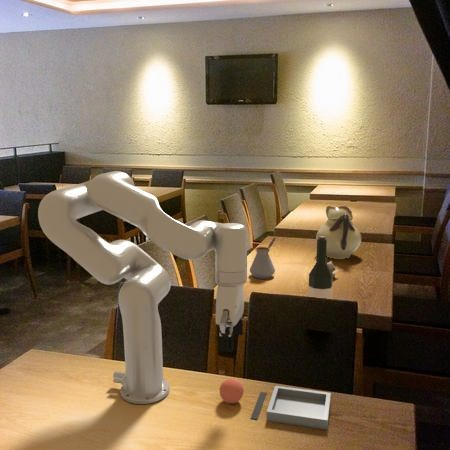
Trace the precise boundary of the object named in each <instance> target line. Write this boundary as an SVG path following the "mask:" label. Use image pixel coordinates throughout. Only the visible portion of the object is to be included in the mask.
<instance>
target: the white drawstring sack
mask: <svg viewBox="0 0 450 450" xmlns="http://www.w3.org/2000/svg"><path fill="white" fill-rule="evenodd" d="M352 212H353V211H352V210H351V208H350V207H349V206H346V205H340V206H330V205H328V206H326V208H325V214H326V217H327V220H326V222H325V223H323V224H322V226H321V227H319V229H318V230H317V232H316V236H315V237H316V239H315V240H316V241H317V239H318V237H319V236H325V237H326V239H327V253H326V256H327V257H326V258H328V257H329V259H332V258H334V259H333V260H346V259H345V258H347V259H350V257H351V255H353V254H354V253H355V252H356V251H357V250H358V248H359V247H360V246H361V242H362V235H361V232H360V230H359V229H358V228H357V227H356V226H355V224H354V223H353V222H352V220H353V219H354V214H353V213H352Z"/></svg>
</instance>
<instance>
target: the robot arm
mask: <svg viewBox="0 0 450 450" xmlns="http://www.w3.org/2000/svg"><path fill="white" fill-rule="evenodd" d="M101 211H105V212H107V213H109V214H111V215H113V216H115V217H117V218H119V219H121V220H123V221H125V222H126V223H129V224H131V225H133V226H135V227H137V228H139V230H140V231H141V232H142V233H143V235H144V236H146V237H147V238H148V239H149V240H150V241H151V242H153V244H155V245H156V246H158V247H159V248H161V249H163V250H164V251H167V252H169V253H171V254H172V255H175V256H177V257H179V258H181V259H183V260H188V261H197V260H200V259H202V258H203V257H204V256H206V255H207V254H208V253H209V252H211V251H214V256H215V257H214V259H215V260H214V261H215V263H214V264H215V265H214V266H215V267H214V269H215V270H214V271H215V273H214V274H215V283H216V284H217V289H216V300H215V301H216V303H215V324H216V325H218V326H219V330H218V332H219V334H218V335H219V351H220V352H225V353H233V351H234V336H235V335H236V336H242V335H243V334H244V325H243V324H244V319H243V316H244V315H243V314H244V309H245V286H244V285H245V284H247V283H248V229H247V227H246V226H245V225H244V224H241V223H236V222H226V223H221V222H214V221H210V220H204V219H203V220H202V219H201V220H197V221H194V222H193V223H191V224H190V225H186V224H184V223H182V222H180V221H178V220H176V219H174V218H172V217H171V216H170V215H168V214H167V213H165V211H163V209H162V208H161V205H160V203H159V199H158V198H157V196H155V195H153V194H151V193H149V192H147V191H145V190H142V189H141V188H139V187H136V186H135V182H134V180H133V178H131V176H130V175H128V174H127V173H126V172H123V171H119V170H115V171H109V172H105V173H100V174H98V175H96V176H94V177H93V178H92V179H90V180H87V181H84V182H82V183H78V184H73V185H70V186H67V187H62V188H59V189H55V190H52V191H50V192H49V193H47V194H46V195H45V196H44V197H43V198H42V199H41V201H40V202H39V205H38V211H37V219H38V222H39V227H40V228H41V230H42V232H43V234H45V236H46V237H47V239H48V240H50V242H52V243H53V244H54V245H55V246H57V247H58V248H59V249H61V250H62V251H63V252H65V254H67V255H68V256H70V257H71V258H72V259H73V260H74V261H75V262H76V263H77V264H78V265H80V267H82V268H83V269H85V271H87V272H88V274H90V275H91V276H93V277H94V278H95V279H96V280H97V281H98V282H99V283H101V284H104V285H107V286H108V285H114V284H116V283H118V282H119V281H121V280H122V279H125V280H126V281H125V282H124V283H123V284H122V286H121V287H120V290H119V293H118V306H119V310H120V314H121V319H122V320H121V321H122V331H123V344H124V345H123V346H124V347H123V348H124V349H123V350H124V366H125V372H122V371H118V370H114V372H113V374H112V377H113V383H114V384H121V385H122V386H121V387H120V396H121V398H122V400H124V401H126V402H128V403H129V404H130V403H131V404H136V405H148V404H153V403H157V402H159V401H160V400H163V399H164V398H165V397H166V396H167V395H168V394H169V393H170V383H169V382H168V380H166V379H165V378H164V368H163V367H164V366H163V364H164V362H163V338H162V336H163V335H162V323H161V322H162V321H161V317H160V314H159V309H158V307H159V304H160V303H161V302H162V300H163V299H164V298H165V297H167V295H168V293H169V292H170V290H171V286H172V281H171V278H170V275H169V273H168V272H167V270H166V269H165V268H164V267H163V266H162V265H161V264H160V263H158V262H157V260H155V259H154V258H152V256H151V255H149V254H148V253H147V252H145V251H144V250H143V249H142V248H140V246H138V245H137V243H134V242H132V241H130V240H127V239H117V240H113V241H111V242H108V241H107V240H106V239H103V238H102V237H101V236H100V235H99V234H98V233H97V232H95V231H94V230H93V229H92V228H91V227H87V226H86V225H84V224H82V223H80V222H78V219H81V218H83V217H86V216H88V215H89V216H90V215H92V214H95V213H97V212H101ZM228 327H229V328H228Z"/></svg>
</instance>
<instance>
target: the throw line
mask: <svg viewBox="0 0 450 450" xmlns="http://www.w3.org/2000/svg"><path fill="white" fill-rule="evenodd" d="M266 397H267V392H265V391H260V392H259V396H258V398H257V400H256V403H255V406H254V408H253V411H252V413H251V417H250V419H251V420H257V421H258V419H259V416H260V413H261V411H262V408H263V405H264V401H265V399H266Z"/></svg>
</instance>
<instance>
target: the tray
mask: <svg viewBox="0 0 450 450" xmlns="http://www.w3.org/2000/svg"><path fill="white" fill-rule="evenodd" d="M273 388H274V389H273V391H272V393H271V397H270V399H269V403H268V406H267V410H266V422H270V423H277V424H283V425H284V424H285V425H290V426H296V427H297V426H298V427H304V428H310V429H316V430H317V429H318V430H322V431H323V430H325V431H328V428H329V426H328V425H329V418H330V417H329V416H330V411H331V410H330V409H331V398H332V397H331V396H332V393H331V392H326V391H319V390H313V389H312V390H311V389H306V388H305V389H304V388H297V387H287V386H282V385H275V386H274V387H273Z"/></svg>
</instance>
